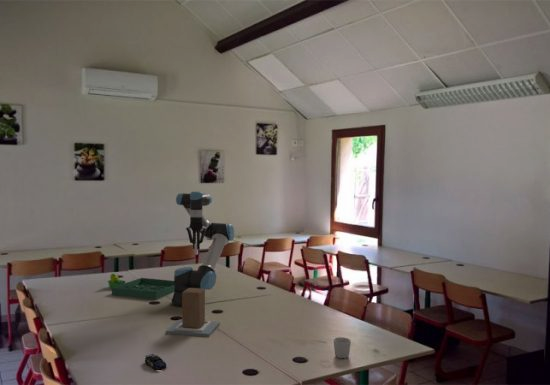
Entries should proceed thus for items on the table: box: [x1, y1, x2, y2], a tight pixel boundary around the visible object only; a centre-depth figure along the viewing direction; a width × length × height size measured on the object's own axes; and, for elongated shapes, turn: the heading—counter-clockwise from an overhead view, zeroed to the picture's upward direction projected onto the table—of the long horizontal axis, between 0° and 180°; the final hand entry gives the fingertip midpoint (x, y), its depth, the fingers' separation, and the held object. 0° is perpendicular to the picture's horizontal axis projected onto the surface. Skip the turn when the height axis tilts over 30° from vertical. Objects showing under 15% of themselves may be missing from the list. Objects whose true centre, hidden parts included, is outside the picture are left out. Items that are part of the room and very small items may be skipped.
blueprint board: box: [165, 319, 221, 337], centre depth 271 cm, size 24×20×2 cm
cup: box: [333, 336, 352, 359], centre depth 234 cm, size 11×8×8 cm
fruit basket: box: [107, 273, 126, 289], centre depth 359 cm, size 11×9×11 cm
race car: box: [144, 353, 167, 371], centre depth 220 cm, size 15×7×4 cm, turn 48°
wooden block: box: [181, 288, 206, 329], centre depth 270 cm, size 10×10×20 cm
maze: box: [111, 277, 174, 301], centre depth 350 cm, size 35×35×6 cm
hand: (196, 254), depth 307 cm, fingers closed
